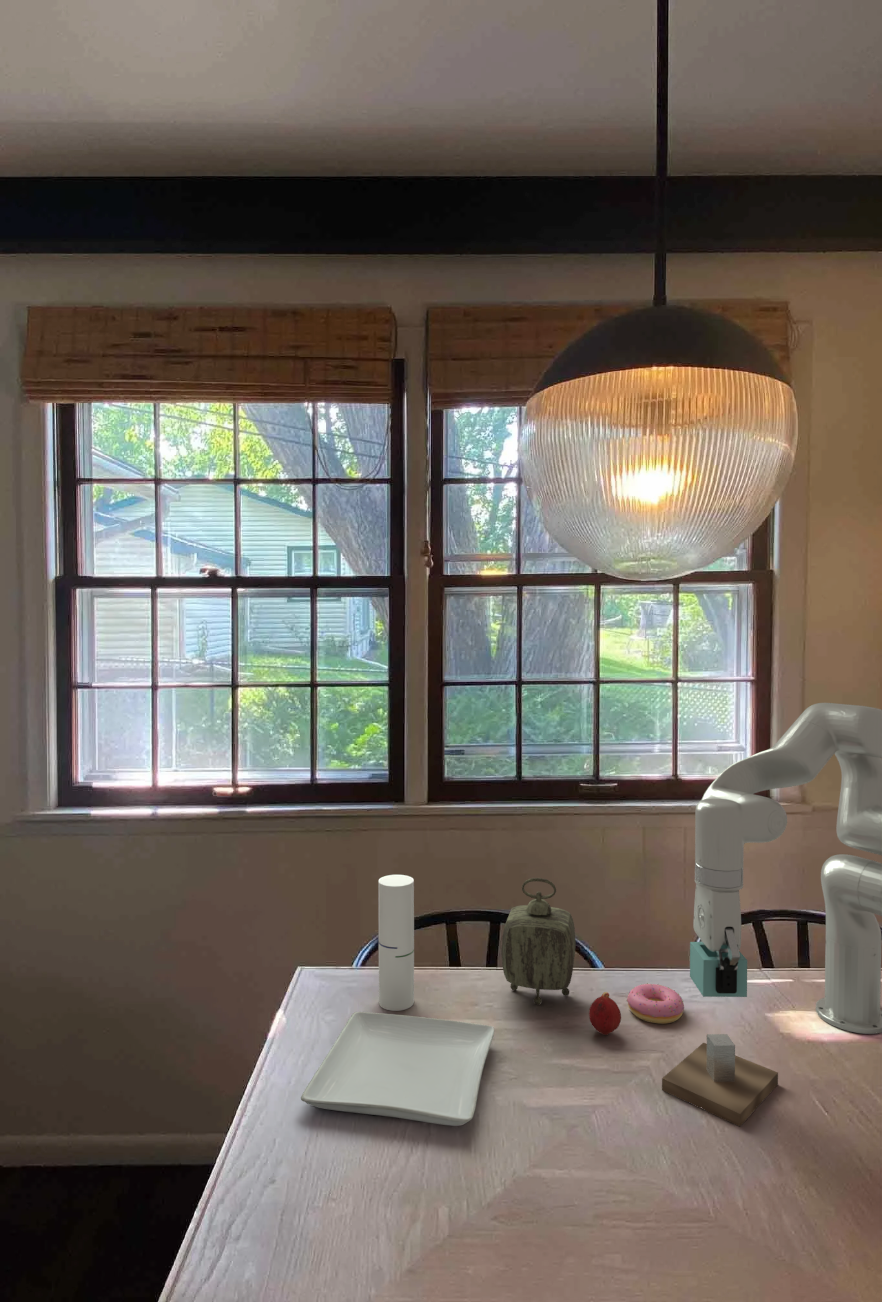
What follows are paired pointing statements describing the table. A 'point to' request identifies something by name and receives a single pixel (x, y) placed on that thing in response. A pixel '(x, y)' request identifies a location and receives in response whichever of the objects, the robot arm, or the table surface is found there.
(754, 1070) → the post board
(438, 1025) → the square plate
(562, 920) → the tabletop clock
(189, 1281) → the table surface
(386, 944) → the cylindrical container
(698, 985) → the collar
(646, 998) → the doughnut
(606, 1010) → the onion
